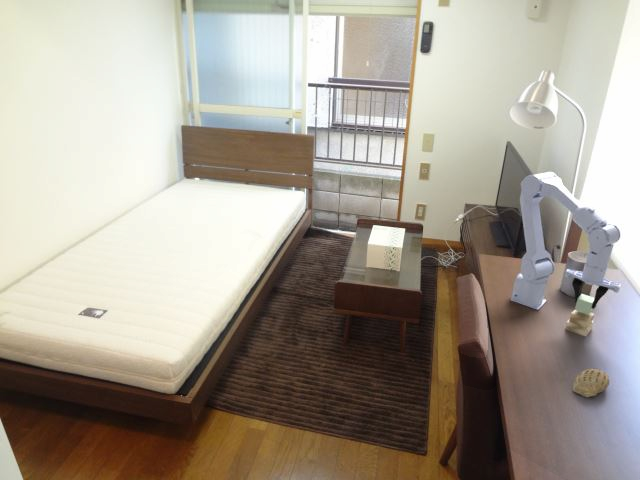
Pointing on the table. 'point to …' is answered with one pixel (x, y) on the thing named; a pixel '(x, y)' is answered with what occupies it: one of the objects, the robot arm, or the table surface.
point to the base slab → (578, 328)
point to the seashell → (590, 382)
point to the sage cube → (584, 304)
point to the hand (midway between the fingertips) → (585, 304)
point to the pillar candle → (577, 264)
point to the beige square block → (581, 318)
